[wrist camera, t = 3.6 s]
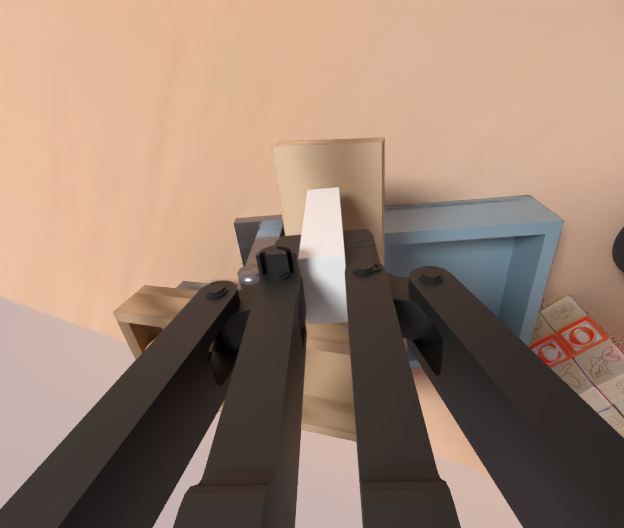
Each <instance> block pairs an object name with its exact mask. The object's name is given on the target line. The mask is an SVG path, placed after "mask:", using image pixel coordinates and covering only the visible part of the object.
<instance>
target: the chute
mask: <svg viewBox="0 0 624 528" xmlns="http://www.w3.org/2000/svg"><path fill="white" fill-rule="evenodd" d="M271 147H272V153H273V160H274V166H275V173H276V179H277V186H278V192H279V199H280V205H281V212H282V218H283V225H284V231H285V236H290V235H301V234H302V226H303V219H304V212H305V204H306V197H307V190H313V189H324V188H336V187H339V195H340V206H341V218H342V229H343V231H344V230H357V229H367V230H369V231H370V232H371V233H372V234H373V236H374V240H375V244H376V248H377V252H378V256H379V260H380V263H381V264H382V265H383V266H384V138H361V139H334V140H307V141H280V142H277V143H276V144H274V145H273V146H271ZM206 285H208V283H198V282H188V281H183V282H182V283H181V284H180V285H179V286H178V287H177V288H166V287H157V286H147V285H145V286H143V287H142V288H141V289H140V290H139V291H137V292H136V293H135V294H134V295H133V296H132V297H130V298H129V299H128V300H127V301H126V302H124V303H123V304H122V305H121V306H120V307H119V308H117V309H116V310H115V311H114V312H113V314H114V316H115V318H116V320H117V322H118V324H119V326H120V328H121V330H122V332H123V334H124V336H125V338H126V341H127V343H128V345H129V347H130V349H131V351H132V353H133V355H134V357H135V359H137V358H138V357H139V356H140V355H141V354H142V353H143V352H144V351H145V349H146V348H147V346H148V345H149V344H150V343H151V342H152V341H153V340H154V339H155V338H156V337H157V336H158V335H159V334H160V333H161V332H162V331H163V330H164V329H165V327H166V326H167V325H168V324H169V323H170V322H171V321H172V320H173V319H174V317H175V316H176V315H177V314H178V313H179V312H180V311H181V310H182V309H183V308H184V306H185V305H186V304H187V303H188V302H189V301H190V300H191V299H192V298H193V297H194V295H195V294H196V293H197V292H198V291H199V290H200V289H201V288H203V287H204V286H206ZM306 330H307V344H306V359H305V375H304V391H303V407H302V422H301V430H306V431H310V432H315V433H320V434H324V435H329V436H333V437H338V438H342V439H347V440H352V441H356V427H355V413H354V400H353V386H352V372H351V359H350V347H349V331H348V322H340V323H322V324H307V319H306ZM403 340H404V344H405V348H406V352H407V345H408V344H407V341H406V339H405V338H403ZM224 401H225V400H224ZM223 404H224V402H223ZM223 404H222V405H221V407H220V409H219V411H218V412H221V411H222V408H223ZM356 442H357V441H356Z"/></svg>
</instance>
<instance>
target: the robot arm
mask: <svg viewBox="0 0 624 528" xmlns="http://www.w3.org/2000/svg"><path fill="white" fill-rule="evenodd" d="M256 260H257V265H258V270H259V275H260V278H259V282H258V284H256V285H254V286H251V287H248V288H244V289H240V290H237V286H236V284H234V283H233V282H230V281H216V282H212V283H210V284H208V285H206V286H204V287H203V288H201V289H200V290H199V291H198V292H197V293H196V294H195V295H194V297H193V298H192V299H191V300H190V301H189V302H188V303H187V304H186V305H185V306H184V308H183V309H182V310H181V311H180V312H179V313H178V314H177V315H176V316H175V317H174V319H173V320H172V321H171V322H170V323H169V324H168V325H167V326H166V327H165V329H164V330H163V331H162V332H161V333H160V334H159V335H158V336H157V337H156V338H155V340H154V341H153V342H152V343H151V344H150V345H149V346H148V347H147V348H146V349H145V351H144V352H143V353H142V354H141V355H140V356H139V357H138V358H137V359H136V361H135V362H134V363H133V364H132V365H131V366H130V367H129V368H128V369H127V370H126V371H125V373H124V374H123V375H122V376H121V377H120V378H119V379H118V380H117V381H116V383H115V384H114V385H113V386H112V387H111V388H110V389H109V390H108V391H107V392H106V394H105V395H104V396H103V397H102V398H101V399H100V400H99V401H98V402H97V404H96V405H95V406H94V407H93V408H92V409H91V410H90V411H89V412H88V413H87V415H86V416H85V417H84V418H83V419H82V420H81V421H80V422H79V423H78V424H77V426H76V427H75V428H74V429H73V430H72V431H71V432H70V433H69V434H68V435H67V437H66V438H65V439H64V440H63V441H62V442H61V443H60V444H59V445H58V446H57V448H56V449H55V450H54V451H53V452H52V453H51V454H50V455H49V456H48V457H47V458H46V460H45V461H44V462H43V463H42V464H41V465H40V466H39V467H38V468H37V470H36V471H35V472H34V473H33V474H32V475H31V476H30V477H29V478H28V479H27V481H26V482H25V483H24V484H23V485H22V486H21V487H20V488H19V489H18V491H17V492H16V493H15V494H14V495H13V496H12V497H11V498H10V499H9V501H7V503H6V504H5V505H4V506H3V507H2V508H1V509H0V528H152V527H153V526H154V524H155V522H156V520H157V519H158V517H159V515H160V513H161V511H162V510H163V508H164V505H165V504H166V503H167V501H168V499H169V497H170V496H171V494H172V492H173V490H174V488H175V487H176V485H177V483H178V481H179V480H180V478H181V476H182V474H183V473H184V471H185V469H186V467H187V465H188V464H189V462H190V460H191V458H192V457H193V455H194V453H195V451H196V450H197V448H198V446H199V444H200V442H201V441H202V439H203V437H204V435H205V434H206V431H207V430H208V428H209V427H210V425H211V423H212V421H213V419H214V418H215V415H216V414H217V412H218V411H219V409H220V407H221V405H222V404H223V402H224V404H223V408H222V411H221V415H220V419H219V422H218V426H217V429H216V433H215V436H214V440H213V443H212V447H211V450H210V454H209V457H208V461H207V464H206V468H205V471H204V474H203V477H202V480H201V481H200V483H199V484H198V485H194V486H191V487H190V488H189V490H188V491H187V492H186V493H185V495H184V498H183V500H182V502H181V505H180V508H179V510H178V514H177V517H176V520H175V523H174V526H173V528H295V516H296V501H297V485H298V469H299V453H300V438H301V437H300V436H301V422H302V407H303V391H304V375H305V359H306V344H307V330H306V319H307V324H322V323H340V322H348V331H349V347H350V359H351V372H352V386H353V400H354V413H355V427H356V441H357V454H358V468H359V482H360V494H361V509H362V522H363V528H461V527H460V523H459V520H458V516H457V512H456V509H455V505H454V502H453V499H452V496H451V493H450V489H449V487H448V486H447V484H446V481H444V480H442V479H441V478H440V476H439V474H438V471H437V468H436V464H435V460H434V456H433V452H432V449H431V445H430V441H429V437H428V433H427V429H426V425H425V421H424V418H423V414H422V410H421V406H420V402H419V398H418V394H417V391H416V387H415V383H414V379H413V375H412V371H411V367H410V363H409V360H408V356H407V352H406V348H405V344H404V340H403V338H405V339H406V341H407V344H408V346H409V348H410V349H411V351H412V352H413V354H414V356H415V357H416V359H417V360H418V362H419V363H420V365H421V367H422V368H423V370H424V371H425V373H426V375H427V376H428V378H429V379H430V381H431V382H432V384H433V386H434V387H435V389H436V390H437V392H438V394H439V395H440V397H441V398H442V400H443V401H444V403H445V405H446V406H447V408H448V409H449V411H450V413H451V414H452V416H453V417H454V419H455V420H456V422H457V424H458V425H459V427H460V428H461V430H462V431H463V433H464V435H465V436H466V438H467V439H468V441H469V443H470V444H471V446H472V447H473V449H474V450H475V452H476V454H477V455H478V457H479V458H480V460H481V462H482V463H483V465H484V466H485V468H486V469H487V471H488V473H489V474H490V476H491V477H492V479H493V480H494V482H495V484H496V485H497V487H498V488H499V490H500V491H501V493H502V495H503V496H504V498H505V499H506V501H507V503H508V504H509V506H510V507H511V509H512V511H513V512H514V514H515V515H516V517H517V518H518V520H519V522H520V523H521V525H522V526H523V528H624V438H623V437H622V436H621V435H620V434H619V433H618V432H617V431H616V430H615V429H614V428H613V427H612V426H611V425H610V424H608V423H607V422H606V421H605V420H604V419H603V418H602V417H601V416H600V415H599V414H598V413H597V412H596V411H595V410H594V409H593V408H592V407H591V406H590V405H589V404H588V403H587V402H585V401H584V400H583V399H582V398H581V397H580V396H579V395H578V394H577V393H576V392H575V391H574V390H573V389H572V388H571V387H570V386H569V385H568V384H567V383H566V382H565V381H563V380H562V379H561V378H560V377H559V376H558V375H557V374H556V373H555V372H554V371H553V370H552V369H551V368H550V367H549V366H548V365H547V364H546V363H545V362H544V361H543V360H541V359H540V358H539V357H538V356H537V355H536V354H535V353H534V352H533V351H532V350H531V349H530V348H529V347H528V346H527V345H526V344H525V343H524V342H523V341H522V340H521V339H520V338H518V337H517V336H516V335H515V334H514V333H513V332H512V331H511V330H510V329H509V328H508V327H507V326H506V325H505V324H504V323H503V322H502V321H501V320H500V319H499V318H498V317H496V316H495V315H494V314H493V313H492V312H491V311H490V310H489V309H488V308H487V307H486V306H485V305H484V304H483V303H482V302H481V301H480V300H479V299H478V298H477V297H476V296H474V295H473V294H472V293H471V292H470V291H469V290H468V289H467V288H466V287H465V286H464V285H463V284H462V283H461V282H460V281H459V280H458V279H457V278H456V277H455V276H454V275H453V274H451V273H450V272H449V271H447V270H446V269H443V268H440V267H436V266H422V267H418V268H416V269H414V270H412V271H411V272H410V275H409V277H401V276H396V275H392V274H390V273H388V272H386V271H385V268H384V266H383V265H382V264H381V263H380V260H379V256H378V252H377V248H376V244H375V240H374V236H373V234H372V233H371V232H370V231H369V230H367V229H357V230H344V231H343V229H342V218H341V206H340V195H339V187H336V188H324V189H313V190H307V197H306V204H305V212H304V219H303V226H302V234H301V235H290V236H281V237H280V238H279V239H278V240H277V241H276V242H275V245H273V246H269V247H266V248H263V249H262V250H260V251H259V252H258V253H257V254H256ZM224 400H225V401H224Z"/></svg>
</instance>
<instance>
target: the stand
mask: <svg viewBox="0 0 624 528" xmlns="http://www.w3.org/2000/svg"><path fill="white" fill-rule="evenodd" d="M234 227H235V231H236V235H237V240H238V244H239V248H240V253H241V257H242V261H243V266H244V267H242V268H241V269H240V270H239V271H238V277H239V283H238V286H237V290H240V289H244V288H248V287H251V286H254V285H256V284H258V282H259V278H260V275H259V270H258V265H257V260H256V254H257V253H258V252H259V251H260V250H262V249H263V248H266V247H269V246H273V245H275V242H276V241H277V240H278V239H279V238H280V237H281V236H285V231H284V225H283V218H282V215H274V216H261V217H249V218H236V220H235V222H234Z"/></svg>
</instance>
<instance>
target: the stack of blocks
mask: <svg viewBox="0 0 624 528" xmlns="http://www.w3.org/2000/svg"><path fill="white" fill-rule="evenodd" d="M529 348H530V349H531V350H532V351H533V352H534V353H535V354H536V355H537V356H538V357H539V358H540V359H541V360H543V361H544V362H545V363H546V364H547V365H548V366H549V367H550V368H551V369H552V370H553V371H554V372H555V373H556V374H557V375H558V376H559V377H560V378H561V379H562V380H563V381H565V382H566V383H567V384H568V385H569V386H570V387H571V388H572V389H573V390H574V391H575V392H576V393H577V394H578V395H579V396H580V397H581V398H582V399H583V400H584V401H585V402H587V403H588V404H589V405H590V406H591V407H592V408H593V409H594V410H595V411H596V412H597V413H598V414H599V415H600V416H601V417H602V418H603V419H604V420H605V421H606V422H607V423H608V424H610V425H611V426H612V427H613V428H614V429H615V430H616V431H617V432H618V433H619V434H620V435H621V436H622V437H623V438H624V354H623V353H622V352H621V351H620V350H619V349H618V348H617V347H616V345H615V344H614V342H613V341H612V340H611V338H610V337H609V336H608V335H607V334H606V333H605V332H604V331H603V330H602V328H601V327H600V326H599V325H598V324H597V323H596V322H595V321H594V320H593V319H592V318H591V317H590V316H589V315H588V314H587V313H586V312H585V311H584V310H583V309H582V308H581V307H580V306H579V305H578V304H577V303H576V302H575V301H574V300H573V299H572V298H571V297H570V296H569V295H568V296H566V297H564V298H563V299H561V300H559V301H557V302H555V303H554V304H552V305H550V306H548V307H547V308H545V309H543V310H541V311H540V312H539V313H538V316H537V320H536V323H535V327H534V331H533V334H532V338H531V342H530V345H529Z"/></svg>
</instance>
